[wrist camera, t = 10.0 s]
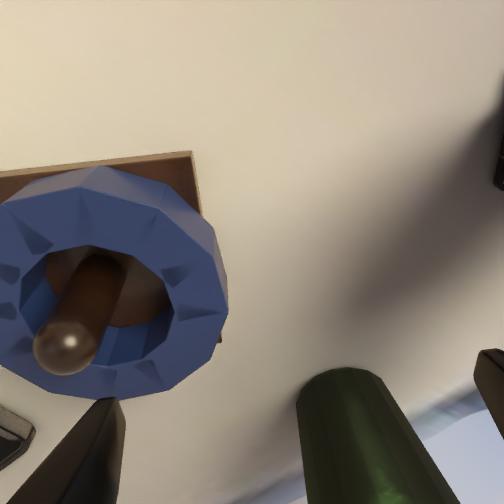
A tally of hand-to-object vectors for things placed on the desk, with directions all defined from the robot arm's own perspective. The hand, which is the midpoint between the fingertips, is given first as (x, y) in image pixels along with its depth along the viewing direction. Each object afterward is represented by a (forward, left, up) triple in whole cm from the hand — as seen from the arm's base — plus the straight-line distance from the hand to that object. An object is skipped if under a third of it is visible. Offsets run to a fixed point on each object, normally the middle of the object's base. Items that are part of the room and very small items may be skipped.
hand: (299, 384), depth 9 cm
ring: (+8, +2, -11) cm, 13 cm away
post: (+8, +2, -12) cm, 14 cm away
